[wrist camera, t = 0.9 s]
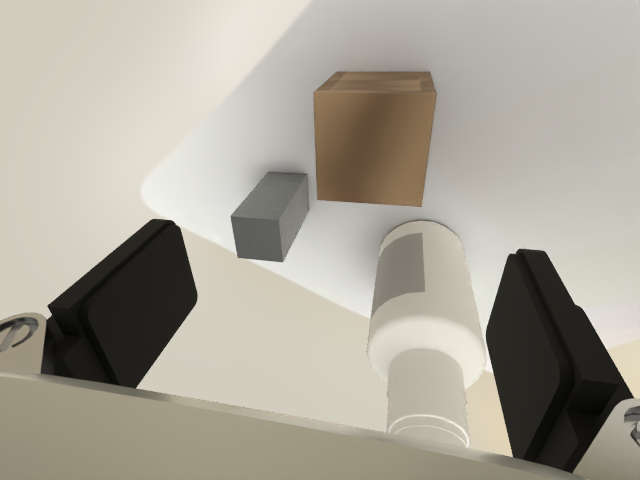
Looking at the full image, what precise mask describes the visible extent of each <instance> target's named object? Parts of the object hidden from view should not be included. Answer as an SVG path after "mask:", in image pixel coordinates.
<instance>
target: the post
mask: <svg viewBox="0 0 640 480" xmlns="http://www.w3.org/2000/svg"><path fill="white" fill-rule="evenodd" d="M308 211H309V205H308V184H307V174H293V173H274V172H268V173H267V174H266V175H265V177H264V178H263V179H262V180H261V181H260V182H259V184H258V185H257V186H256V187H255V188H254V189H253V191H252V192H251V193H250V194H249V195H248V196H247V198H246V199H245V200H244V201H243V202H242V203H241V205H240V206H239V207H238V208H237V209H236V210H235V212H234V213H233V214H232V215H231V222H232V227H233V233H234V239H235V245H236V250H237V256H238V258H246V259H256V260H266V261H276V262H283V261H284V259H285V257H286V255H287V253H288V251H289V249H290V247H291V245H292V243H293V241H294V239H295V237H296V235H297V233H298V231H299V229H300V227H301V225H302V223H303V221H304V219H305V217H306V215H307V213H308Z"/></svg>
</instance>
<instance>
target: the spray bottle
mask: <svg viewBox="0 0 640 480" xmlns="http://www.w3.org/2000/svg"><path fill="white" fill-rule="evenodd" d="M367 356H368V359H369V362H370V366H371V368H372V369H373V370H374V371H375V373H376V374H377V376H378V377H379V378H380V379H382V380H383V381H384V382H386V383H387V384H388V390H387V395H388V418H387V433H391V434H396V435H402V436H407V437H413V438H418V439H424V440H429V441H434V442H439V443H444V444H449V445H454V446H459V447H464V448H468V447H469V445H470V435H469V428H468V420H467V413H466V403H467V401H466V394H465V389H467V388H468V387H470V386H471V385H472V384H473V383H474V382H475V381H476V380H477V379H479V378H480V377H481V374H482V372H483V370H484V368H485V365H486V350H485V344H484V339H483V335H482V330H481V326H480V321H479V316H478V312H477V307H476V303H475V298H474V294H473V289H472V284H471V280H470V275H469V271H468V266H467V262H466V257H465V252H464V248H463V246H462V244H461V242H460V240H459V238H458V237H457V236H456V235H455V234H454V233H453V232H452V231H451V230H449V229H448V228H447V227H444V226H442V225H440V224H437V223H435V222H428V221H415V222H408V223H406V224H403V225H401V226H399V227H396V228H395V229H394V230H393V231H392V232H390V233H389V234H388V235H387V236H386V237H385V239H384V240H383V242H382V244H381V246H380V251H379V258H378V266H377V273H376V281H375V289H374V297H373V305H372V313H371V321H370V329H369V336H368V344H367Z"/></svg>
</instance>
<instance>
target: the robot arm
mask: <svg viewBox="0 0 640 480" xmlns="http://www.w3.org/2000/svg"><path fill="white" fill-rule="evenodd" d="M196 302H197V290H196V286H195V283H194V279H193V275H192V271H191V267H190V264H189V260H188V256H187V252H186V248H185V244H184V240H183V237H182V233H181V230H180V227H179V226H177V225H176V224H175V223H174V221H172V220H162V219H152V220H150V221H149V222H148V223H147V224H145V225H144V226H143V227H142V228H141V229H139V230H138V231H137V232H136V233H135V234H133V235H132V236H131V237H130V238H129V239H127V240H126V241H125V242H124V243H123V244H121V245H120V246H119V247H118V248H116V249H115V250H114V251H113V252H112V253H110V254H109V255H108V256H107V257H106V258H105V259H103V260H102V261H101V262H100V263H98V264H97V265H96V266H95V267H94V268H92V269H91V270H90V271H89V272H88V273H86V274H85V275H84V276H83V277H82V278H80V279H79V280H78V281H77V282H75V283H74V284H73V285H72V286H71V287H70V288H68V289H67V290H66V291H65V292H63V293H62V294H61V295H60V296H59V297H57V298H56V299H55V300H54V301H53V302H51V303H50V304H49V305H48V308H49V310H50V312H51V313H52V316H51V317H50V318H49V319H47V320H46V318H45V317H44V316H43V315H41V314H38V313H22V314H18V315H14V316H11V317H8V318H6V319H3V320H1V321H0V480H640V399H635V398H634V397H633V395H632V393H631V392H630V390H629V388H628V386H627V385H626V383H625V382H624V379H623V378H622V376H621V374H620V372H619V371H618V369H617V367H616V366H615V364H614V362H613V360H612V359H611V357H610V355H609V353H608V352H607V350H606V348H605V346H604V345H603V343H602V341H601V340H600V338H599V336H598V334H597V333H596V331H595V329H594V327H593V326H592V324H591V322H590V320H589V319H588V317H587V315H586V314H585V312H584V311H583V309H582V308H581V307H579V306H577V305H575V304H574V302H573V300H572V298H571V296H570V295H569V293H568V291H567V289H566V287H565V286H564V284H563V282H562V280H561V279H560V277H559V275H558V273H557V271H556V270H555V268H554V266H553V264H552V262H551V261H550V259H549V257H548V255H547V254H546V252H545V251H541V250H529V249H519V250H518V251H517V252H516V254H509V256H508V258H507V261H506V265H505V268H504V271H503V275H502V278H501V282H500V285H499V288H498V292H497V295H496V298H495V302H494V305H493V309H492V312H491V315H490V319H489V322H488V325H487V329H486V342H487V347H488V351H489V355H490V360H491V364H492V368H493V373H494V376H495V381H496V385H497V390H498V394H499V398H500V402H501V407H502V411H503V415H504V420H505V424H506V428H507V433H508V437H509V441H510V445H511V449H512V454H513V457H509V456H504V455H499V454H495V453H489V452H484V451H479V450H474V449H469V448H464V447H459V446H454V445H449V444H444V443H439V442H434V441H429V440H424V439H418V438H413V437H407V436H402V435H396V434H391V433H384V432H379V431H374V430H368V429H363V428H357V427H352V426H346V425H341V424H335V423H330V422H324V421H319V420H313V419H308V418H302V417H296V416H291V415H285V414H279V413H274V412H268V411H262V410H256V409H251V408H245V407H240V406H234V405H228V404H222V403H217V402H211V401H205V400H199V399H194V398H188V397H182V396H176V395H170V394H164V393H158V392H153V391H146V390H141V389H136V387H137V385H138V384H139V383H140V382H141V380H142V379H143V377H144V376H145V375H146V373H147V372H148V370H149V369H150V368H151V366H152V365H153V363H154V362H155V360H156V359H157V358H158V356H159V355H160V354H161V352H162V351H163V349H164V348H165V347H166V345H167V344H168V342H169V341H170V339H171V338H172V337H173V335H174V334H175V333H176V331H177V330H178V328H179V327H180V326H181V324H182V323H183V321H184V320H185V319H186V317H187V316H188V314H189V313H190V312H191V310H192V309H193V307H194V306H195V304H196Z"/></svg>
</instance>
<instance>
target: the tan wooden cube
mask: <svg viewBox="0 0 640 480" xmlns="http://www.w3.org/2000/svg"><path fill="white" fill-rule="evenodd" d="M435 101H436V91H435V87H434V84H433V81H432V77H431V74H430V72H336V73H335V74H334V75H333V76H332V77H331V78H329V79H328V80H327V81H326V82H325V83H324V84H323V85H322V86H321V87H319V88H318V89H317V90H316V91H315V92H314V120H315V150H316V179H317V200H326V201H341V202H356V203H371V204H386V205H401V206H416V207H422V199H423V192H424V184H425V177H426V169H427V162H428V154H429V146H430V139H431V131H432V124H433V116H434V109H435Z"/></svg>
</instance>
